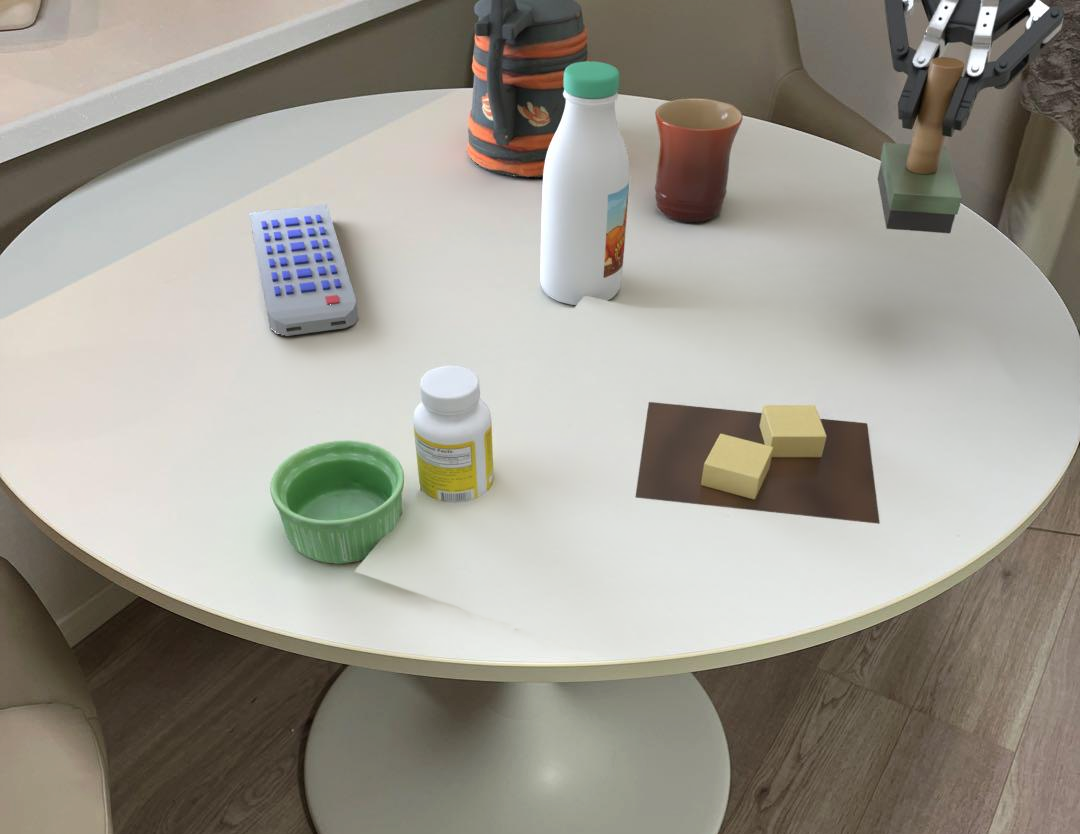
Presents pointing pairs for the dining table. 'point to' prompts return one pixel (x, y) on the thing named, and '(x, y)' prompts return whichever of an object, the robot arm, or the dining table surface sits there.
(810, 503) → the tray
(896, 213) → the brush
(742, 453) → the crumb
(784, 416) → the crumb
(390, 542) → the dining table surface
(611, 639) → the dining table surface
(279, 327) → the remote control
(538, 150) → the beer stein
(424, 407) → the supplement bottle
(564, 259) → the milk bottle
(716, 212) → the mug
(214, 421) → the dining table surface
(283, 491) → the ramekin
